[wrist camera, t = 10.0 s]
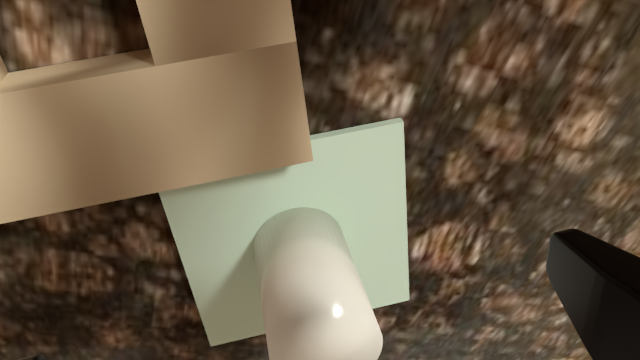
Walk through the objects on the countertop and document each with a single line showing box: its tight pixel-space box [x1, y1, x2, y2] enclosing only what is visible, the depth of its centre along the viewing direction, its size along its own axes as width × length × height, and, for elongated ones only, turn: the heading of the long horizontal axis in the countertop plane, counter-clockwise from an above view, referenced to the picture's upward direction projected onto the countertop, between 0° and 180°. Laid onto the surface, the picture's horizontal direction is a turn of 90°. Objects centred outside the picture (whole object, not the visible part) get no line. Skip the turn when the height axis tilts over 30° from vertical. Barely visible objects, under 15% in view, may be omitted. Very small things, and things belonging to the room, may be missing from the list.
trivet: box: [159, 118, 409, 346], centre depth 24 cm, size 10×10×1 cm
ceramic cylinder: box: [253, 207, 383, 360], centre depth 21 cm, size 4×4×6 cm
